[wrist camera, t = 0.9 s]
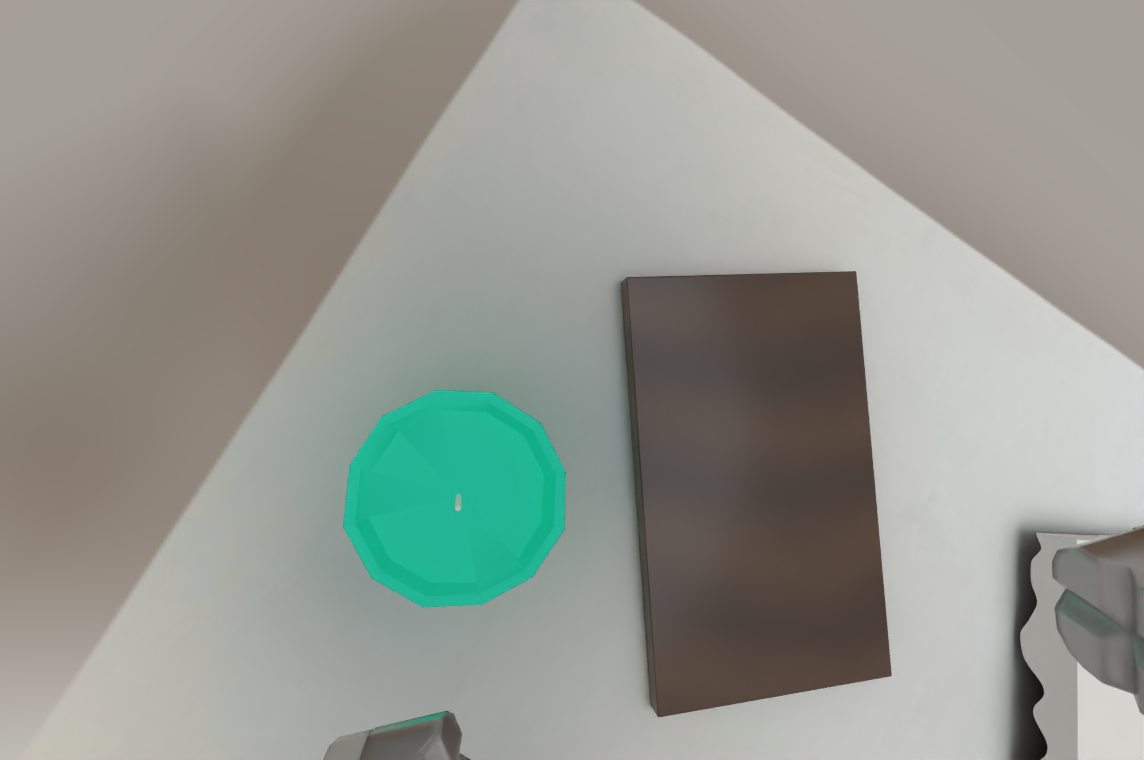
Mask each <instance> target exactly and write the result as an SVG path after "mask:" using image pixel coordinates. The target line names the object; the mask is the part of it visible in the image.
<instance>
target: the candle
mask: <svg viewBox="0 0 1144 760" xmlns="http://www.w3.org/2000/svg"><path fill="white" fill-rule="evenodd" d="M565 482H566V472H565V470H564V468H563V466H562V464H561V462H560V460H559V458H558V456H557V454H556V452H555V450H554V448H553V446H552V444H551V442H550V440H549V438H548V436H547V434H546V432H545V430H544V428H543V426H542V424H541V423H540V422H538V421H537V420H535V419H534V418H532V417H531V416H529V415H528V414H526V413H524V412H523V411H521V410H520V409H518V408H517V407H515V406H513V405H512V404H510V403H509V402H507V401H506V400H504V399H503V398H501V397H499V396H498V395H496V394H495V393H490V392H467V391H445V390H435V391H433V392H431V393H429V394H427V395H425V396H423V397H421V398H419V399H417V400H415V401H413V402H410V403H408V404H406V405H404V406H402V407H400V408H398V409H396V410H394V411H392V412H390V413H388V414H386V415H383V416H382V417H381V418H380V420H379V421H378V423H377V425H376V426H375V428H374V429H373V431H372V432H371V434H370V435H369V437H368V438H367V440H366V441H365V443H364V444H363V446H362V447H361V449H360V450H359V452H358V453H357V455H356V457H355V458H354V460H353V461H352V463H351V464H350V467H349V476H348V486H347V495H346V505H345V514H344V524H343V528H344V529H345V531H346V533H347V535H348V537H349V538H350V540H351V542H352V544H353V546H354V547H355V549H356V551H357V553H358V555H359V556H360V558H361V560H362V562H363V564H364V565H365V567H366V569H367V571H368V573H369V574H370V576H371V578H372V579H374V580H376V581H377V582H379V583H381V584H383V585H384V586H386V587H388V588H390V589H391V590H393V591H395V592H397V593H398V594H400V595H402V596H404V597H406V598H407V599H409V600H411V601H413V602H414V603H416V604H418V605H420V606H421V607H440V606H463V605H482V604H484V603H486V602H488V601H489V600H491V599H493V598H495V597H497V596H499V595H500V594H502V593H504V592H506V591H508V590H510V589H512V588H513V587H515V586H517V585H519V584H521V583H523V582H525V581H526V580H528V579H530V578H532V577H533V576H534V574H535V573H536V571H537V570H538V568H539V567H540V565H541V564H542V562H543V561H544V559H545V558H546V556H547V555H548V553H549V552H550V550H551V549H552V547H553V546H554V544H555V543H556V541H557V540H558V538H559V537H560V535H561V534H562V532H563V531H564V520H565Z"/></svg>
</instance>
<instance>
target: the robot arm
mask: <svg viewBox="0 0 1144 760" xmlns="http://www.w3.org/2000/svg"><path fill="white" fill-rule="evenodd" d="M1052 576H1053V579H1054V580H1055V581H1056V582H1057V583H1059V584H1060V585H1061V586H1062V587H1063V588H1064V589H1065V590H1064V592H1063V593H1062V595H1061V597H1060V598H1059V600H1058V602H1057V604H1056V605H1055V607H1054V608H1055V617H1056V625H1057V630H1058V632H1059V634H1060V636H1061V638H1062V640H1063V642H1064V644H1065V646H1066V647H1067V649H1068V651H1069V652H1070V654H1071V655H1072V656H1073V657H1074V658H1075V659H1076V660H1077V661H1078V663H1079V664H1080V665H1081V666H1082V667H1083V668H1084V669H1085V670H1087V671H1088V672H1089V673H1090V674H1092V675H1093V676H1094V677H1095V678H1097V679H1098V680H1099V681H1100V682H1102V683H1103V684H1106V685H1109V686H1112V687H1114V688H1117V689H1120V690H1123V691H1126V692H1129V693H1131V694H1133V695H1134V697H1135V700H1136V703H1137V706H1138V709H1139V711H1140V713H1141V714H1143V715H1144V525H1143V526H1139V527H1136V528H1134V529H1132V530H1129V531H1125V532H1121V533H1117V534H1114V535H1110V536H1106V537H1103V538H1099V539H1095V540H1092V541H1088V542H1084V543H1081V544H1077V545H1073V546H1069V547H1066V548H1062V549H1058V550H1057V552H1056V554H1055V556H1054V558H1053V560H1052ZM461 737H462V733H461V730H460V728H459V725H458V723H457V721H456V718H455V716H454V714H453V713H451V712H449V711H444V712H440V713H435V714H431V715H427V716H423V717H418V718H414V719H410V720H406V721H402V722H397V723H393V724H389V725H385V726H381V727H376V728H375V729H372V730H367V731H363V732H358V733H354V734H350V735H346V736H342V737H338V738H337V739H336V740H335V741H334V742H333V743H332V744H331V745H330V746H329V748H328V750H327V752H326V754H325V757H324V759H323V760H470V759H468V758H467V757H465V756H464V755H462V754H461V753H459V750H460V744H461Z"/></svg>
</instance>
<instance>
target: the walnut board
mask: <svg viewBox="0 0 1144 760" xmlns="http://www.w3.org/2000/svg"><path fill="white" fill-rule="evenodd" d="M621 288H622V302H623V316H624V331H625V345H626V359H627V373H628V387H629V401H630V415H631V429H632V443H633V457H634V471H635V485H636V499H637V513H638V527H639V541H640V555H641V569H642V583H643V597H644V611H645V625H646V639H647V653H648V667H649V681H650V695H651V707H652V708H653V710H654V711H655V713H656V715H657V716H658V717H663V716H669V715H674V714H680V713H686V712H691V711H697V710H703V709H708V708H714V707H719V706H725V705H731V704H736V703H742V702H748V701H753V700H759V699H765V698H770V697H776V696H782V695H787V694H793V693H799V692H804V691H810V690H816V689H821V688H827V687H833V686H838V685H844V684H850V683H855V682H861V681H866V680H872V679H878V678H883V677H889V676H891V664H890V653H889V641H888V630H887V618H886V607H885V596H884V584H883V573H882V561H881V550H880V539H879V527H878V516H877V504H876V493H875V481H874V470H873V459H872V447H871V436H870V424H869V413H868V402H867V390H866V379H865V367H864V356H863V345H862V333H861V322H860V310H859V299H858V288H857V276H856V272H855V271H851V272H812V273H774V274H736V275H697V276H659V277H627V278H626V279H624V280H623V281H622V282H621Z"/></svg>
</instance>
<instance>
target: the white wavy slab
mask: <svg viewBox="0 0 1144 760" xmlns="http://www.w3.org/2000/svg"><path fill="white" fill-rule="evenodd" d="M1036 535H1037V538H1038V540H1039V542H1040V544H1041V550H1040V552H1039V553H1038V554H1037V555H1036V556H1035V557H1034V558H1033V559H1032V561H1031V583H1032V587H1033V589H1034V592H1035V594H1036V597H1037V606H1036V608H1035V610H1034V612H1033V614H1032V616H1031V617H1030V619H1029V621H1028V622H1027V623H1026V624H1025V626H1024V627H1023V628H1022V630H1021V633H1020V641H1021V648H1022V653H1023V656H1024V659H1025V661H1026V662H1027V664H1028V666H1029V667H1030V668H1031V670H1032V671H1033V672H1034V674H1035V675H1036V676H1037V678H1038V679H1039V681H1040V682H1041V684H1042V686H1043V688H1044V696H1043V697H1042V699H1041V700H1040V701H1039V702H1038V703H1037V704H1036V705H1035V707H1034V709H1033V714H1034V718H1035V720H1036V722H1037V724H1038V726H1039V728H1040V730H1041V732H1042V733H1043V735H1044V737H1045V739H1046V742H1047V746H1048V750H1047V754H1046V755H1045V756H1044V757H1043V758H1041V759H1040V760H1144V715H1143V714H1141V713H1140V711H1139V709H1138V706H1137V703H1136V700H1135V697H1134V695H1133V694H1131V693H1129V692H1126V691H1123V690H1120V689H1117V688H1114V687H1112V686H1109V685H1106V684H1103V683H1102V682H1100V681H1099V680H1098V679H1097V678H1095V677H1094V676H1093V675H1092V674H1090V673H1089V672H1088V671H1087V670H1085V669H1084V668H1083V667H1082V666H1081V665H1080V664H1079V663H1078V661H1077V660H1076V659H1075V658H1074V657H1073V656H1072V655H1071V654H1070V652H1069V651H1068V649H1067V647H1066V646H1065V644H1064V642H1063V640H1062V638H1061V636H1060V634H1059V632H1058V630H1057V625H1056V617H1055V608H1054V607H1055V605H1056V604H1057V602H1058V600H1059V598H1060V597H1061V595H1062V593H1063V592H1064V590H1065V589H1064V588H1063V587H1062V586H1061V585H1060V584H1059V583H1057V582H1056V581H1055V580H1054V579H1053V576H1052V560H1053V558H1054V556H1055V554H1056V552H1057V550H1058V549H1062V548H1066V547H1069V546H1073V545H1077V544H1081V543H1084V542H1088V541H1092V540H1095V539H1099V538H1103V537H1106V536H1110V535H1099V536H1095V535H1075V534H1051V533H1038V532H1036Z"/></svg>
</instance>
